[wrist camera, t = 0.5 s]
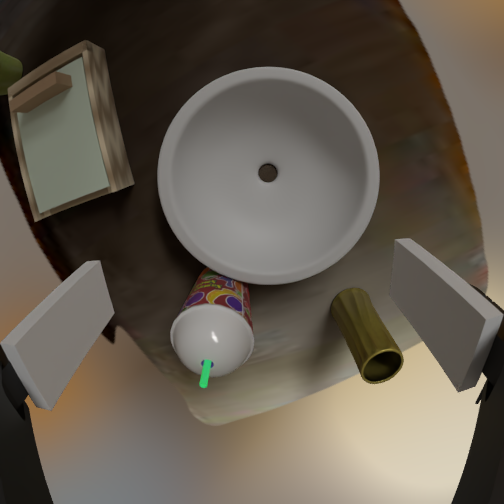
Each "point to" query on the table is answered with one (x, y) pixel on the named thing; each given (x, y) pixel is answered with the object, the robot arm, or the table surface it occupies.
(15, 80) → the plant pot
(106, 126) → the box
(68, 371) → the robot arm
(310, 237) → the soup bowl
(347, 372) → the table surface
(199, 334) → the smoothie
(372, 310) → the vase
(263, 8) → the table surface
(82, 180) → the cover plate
